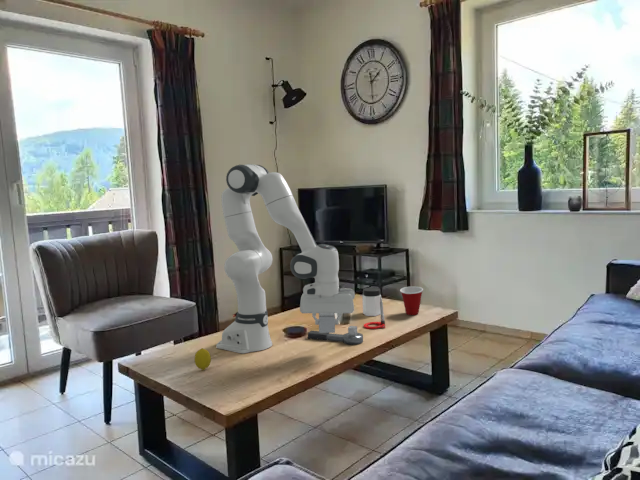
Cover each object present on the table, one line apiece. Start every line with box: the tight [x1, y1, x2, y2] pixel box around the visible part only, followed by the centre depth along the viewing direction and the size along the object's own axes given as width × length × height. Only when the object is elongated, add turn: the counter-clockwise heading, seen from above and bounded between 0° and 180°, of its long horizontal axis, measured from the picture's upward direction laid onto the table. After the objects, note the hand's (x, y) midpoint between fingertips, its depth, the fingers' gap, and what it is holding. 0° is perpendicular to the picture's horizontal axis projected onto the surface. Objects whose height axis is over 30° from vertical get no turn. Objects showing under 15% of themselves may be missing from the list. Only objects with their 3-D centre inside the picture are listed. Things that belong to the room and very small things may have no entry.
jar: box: [361, 287, 382, 317], centre depth 240 cm, size 9×8×12 cm
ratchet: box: [307, 325, 364, 346], centre depth 204 cm, size 23×8×6 cm, turn 67°
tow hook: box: [363, 296, 386, 330], centre depth 220 cm, size 8×13×9 cm
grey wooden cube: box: [318, 313, 336, 334], centre depth 189 cm, size 6×6×6 cm
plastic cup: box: [399, 286, 424, 316], centre depth 237 cm, size 11×11×12 cm
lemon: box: [194, 348, 212, 371], centre depth 177 cm, size 6×6×8 cm
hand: (326, 324), depth 189 cm, fingers closed on grey wooden cube, 6 cm apart
